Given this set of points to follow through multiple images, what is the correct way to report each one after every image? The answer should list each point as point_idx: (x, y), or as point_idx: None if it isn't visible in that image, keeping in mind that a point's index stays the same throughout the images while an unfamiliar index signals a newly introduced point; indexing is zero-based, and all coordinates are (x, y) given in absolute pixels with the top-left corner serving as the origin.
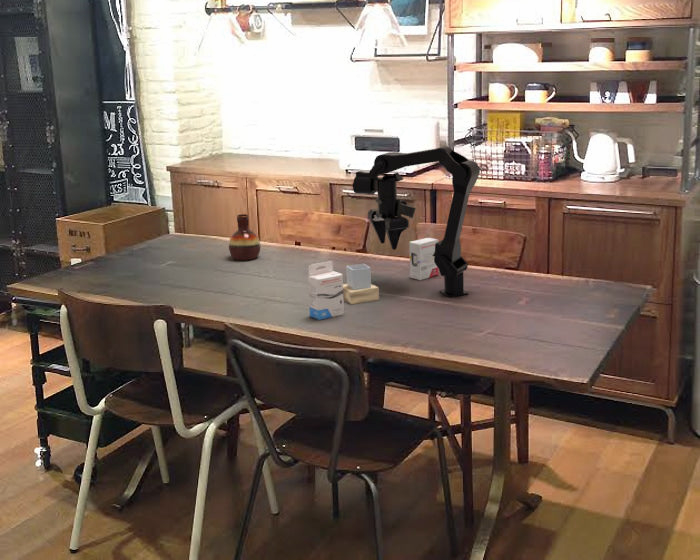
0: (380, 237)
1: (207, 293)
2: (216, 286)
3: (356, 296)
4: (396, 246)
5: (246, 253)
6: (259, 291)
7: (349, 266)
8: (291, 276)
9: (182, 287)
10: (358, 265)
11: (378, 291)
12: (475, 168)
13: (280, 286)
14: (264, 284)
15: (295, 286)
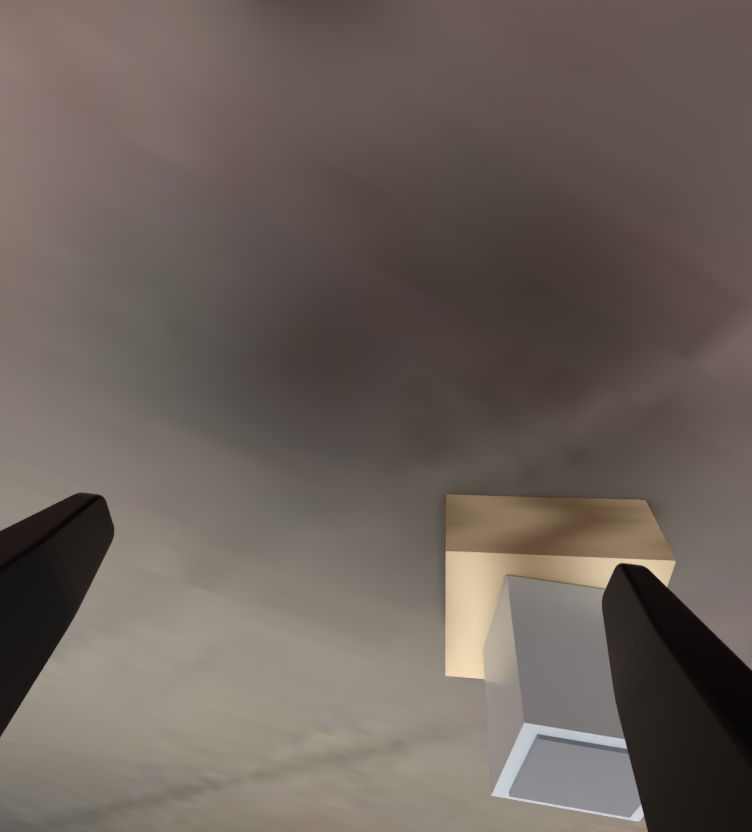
0: (46, 630)
1: (180, 808)
2: (106, 777)
3: None
4: (682, 611)
5: None
6: (212, 740)
7: (529, 795)
8: None
9: (94, 815)
10: (568, 772)
11: (664, 540)
12: None
13: (168, 685)
14: (121, 704)
15: (187, 655)
